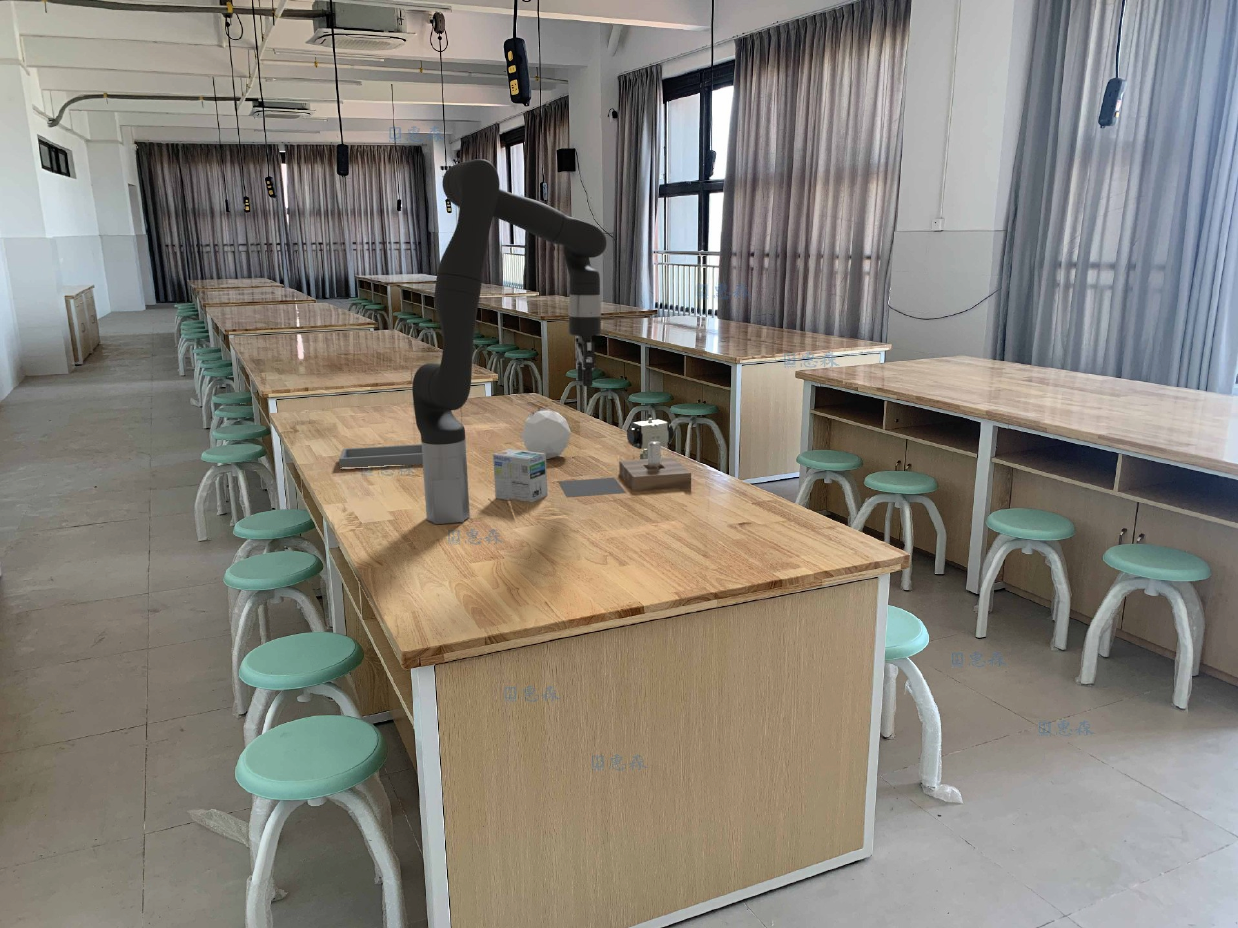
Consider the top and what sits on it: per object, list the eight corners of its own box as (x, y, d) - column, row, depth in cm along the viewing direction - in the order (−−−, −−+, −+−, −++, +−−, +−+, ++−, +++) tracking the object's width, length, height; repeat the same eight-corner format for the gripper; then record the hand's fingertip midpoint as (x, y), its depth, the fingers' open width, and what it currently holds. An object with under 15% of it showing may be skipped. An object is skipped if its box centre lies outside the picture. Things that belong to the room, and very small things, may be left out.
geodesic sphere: (528, 446, 234) (553, 401, 236) (499, 438, 244) (524, 395, 247) (564, 471, 243) (588, 427, 246) (536, 462, 254) (558, 420, 256)
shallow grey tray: (429, 464, 241) (428, 453, 240) (340, 470, 236) (339, 459, 235) (429, 454, 252) (428, 443, 251) (343, 459, 247) (342, 448, 247)
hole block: (691, 489, 214) (691, 472, 213) (633, 493, 211) (633, 476, 210) (673, 472, 229) (673, 457, 228) (619, 476, 226) (619, 460, 225)
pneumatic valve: (626, 463, 239) (626, 419, 236) (665, 458, 244) (665, 414, 241) (636, 468, 234) (635, 422, 231) (675, 462, 239) (675, 418, 236)
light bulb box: (548, 497, 209) (547, 452, 206) (531, 505, 203) (529, 458, 201) (511, 491, 214) (509, 447, 212) (494, 498, 209) (491, 453, 206)
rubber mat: (626, 495, 210) (626, 492, 210) (566, 499, 207) (566, 497, 207) (614, 479, 223) (614, 477, 223) (558, 483, 220) (557, 481, 220)
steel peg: (661, 483, 219) (661, 443, 216) (649, 484, 218) (649, 444, 216) (658, 480, 222) (658, 441, 219) (646, 481, 221) (646, 441, 219)
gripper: (605, 316, 204) (605, 387, 208) (595, 312, 218) (595, 379, 221) (573, 316, 203) (573, 388, 206) (565, 312, 216) (565, 379, 220)
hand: (584, 383), depth 214 cm, fingers open, 8 cm apart
